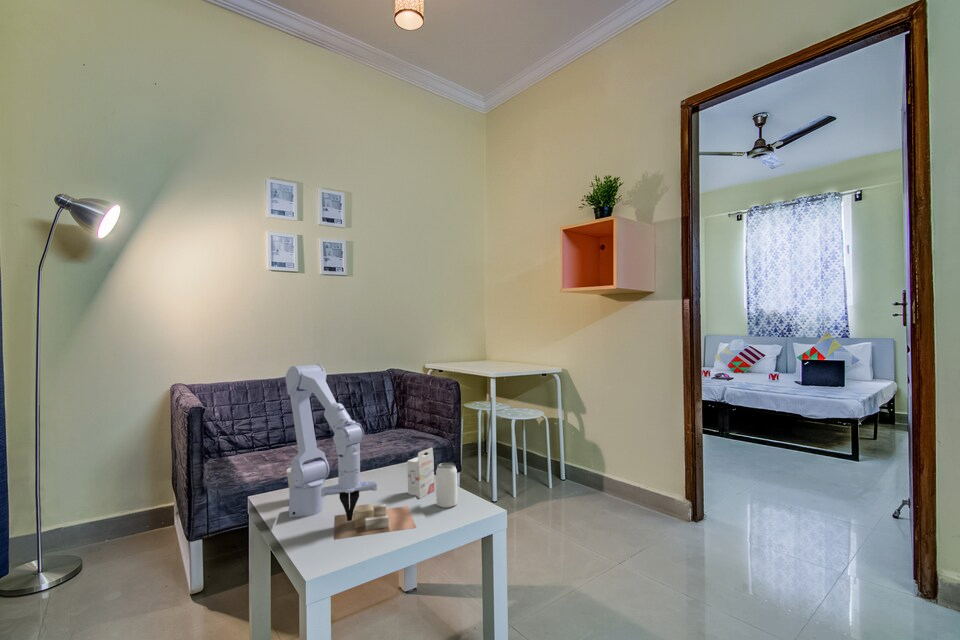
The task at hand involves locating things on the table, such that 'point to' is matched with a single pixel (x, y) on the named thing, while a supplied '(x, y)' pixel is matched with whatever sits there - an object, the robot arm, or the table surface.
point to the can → (446, 485)
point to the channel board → (375, 522)
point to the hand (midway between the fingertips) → (349, 519)
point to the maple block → (362, 514)
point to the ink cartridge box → (421, 474)
